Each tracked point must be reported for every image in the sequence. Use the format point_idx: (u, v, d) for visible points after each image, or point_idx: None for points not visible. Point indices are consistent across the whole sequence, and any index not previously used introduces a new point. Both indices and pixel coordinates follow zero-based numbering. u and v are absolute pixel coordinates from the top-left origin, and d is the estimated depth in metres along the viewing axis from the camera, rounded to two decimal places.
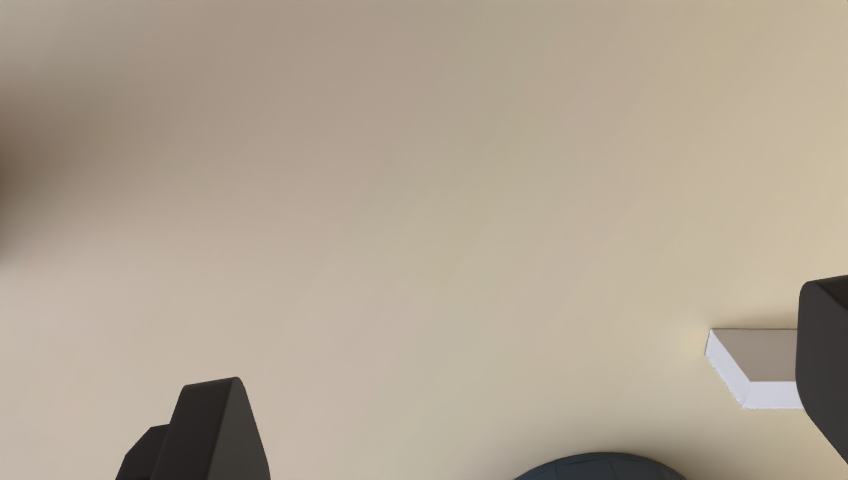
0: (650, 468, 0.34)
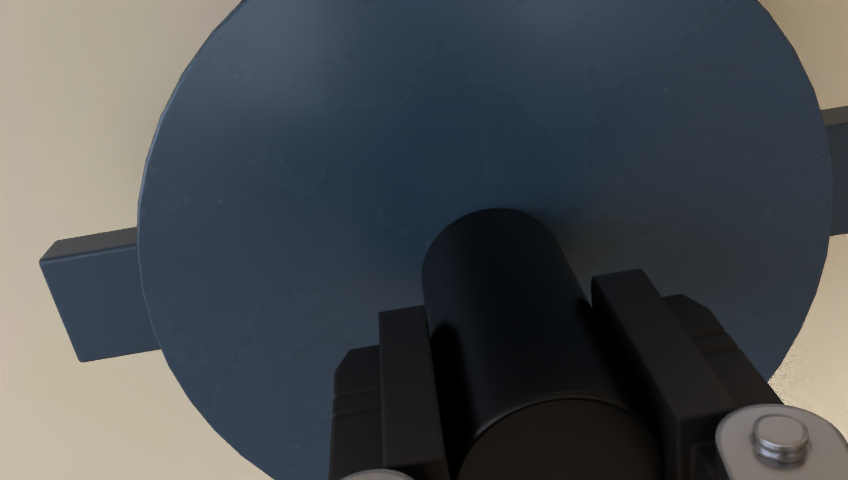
0: None
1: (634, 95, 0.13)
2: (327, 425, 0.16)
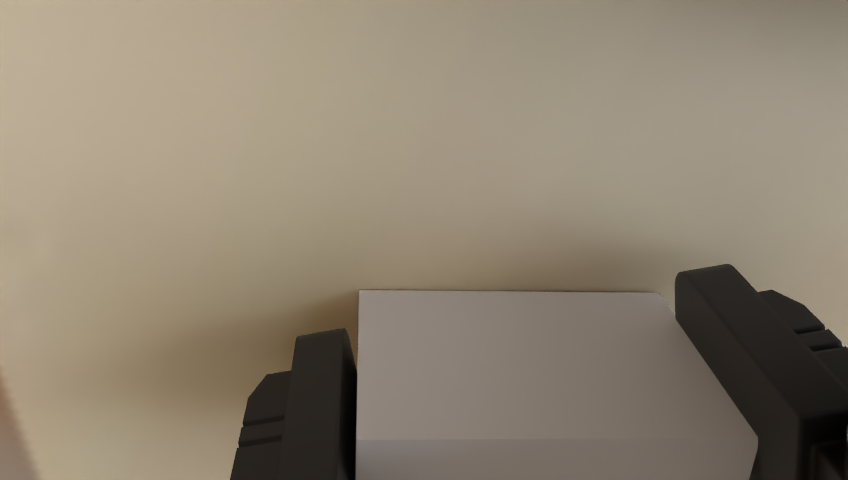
0: None
1: None
2: None
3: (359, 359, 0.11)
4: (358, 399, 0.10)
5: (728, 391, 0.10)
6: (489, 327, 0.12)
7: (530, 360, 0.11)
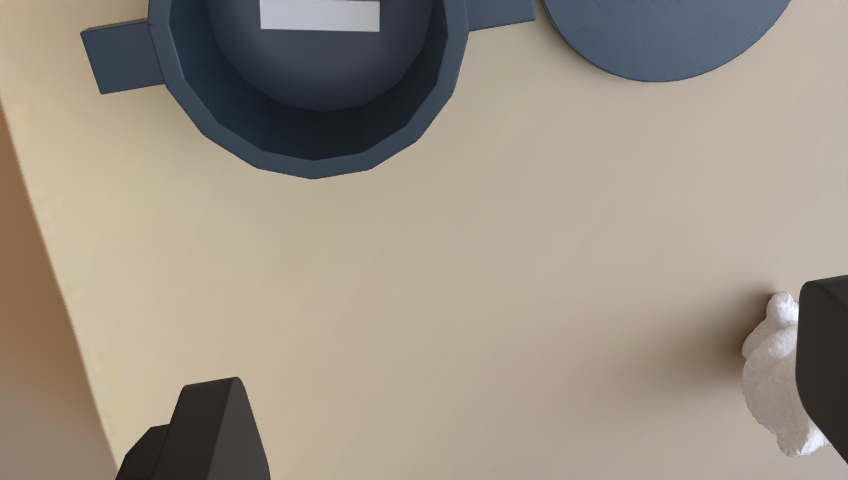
0: None
1: (618, 17, 0.36)
2: None
3: None
4: None
5: None
6: None
7: None
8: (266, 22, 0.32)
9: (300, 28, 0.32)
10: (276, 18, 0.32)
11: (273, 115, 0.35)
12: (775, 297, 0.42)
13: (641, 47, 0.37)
